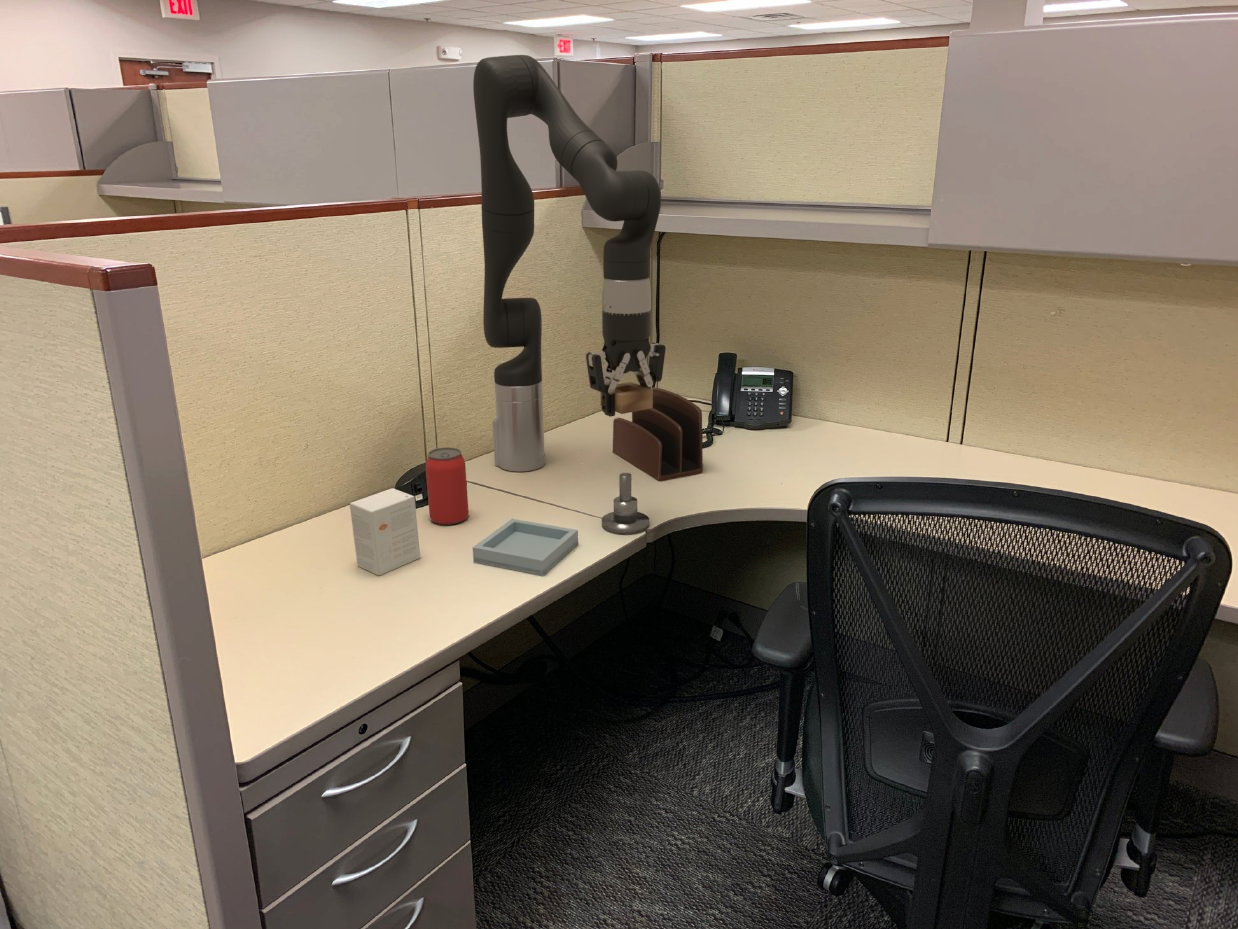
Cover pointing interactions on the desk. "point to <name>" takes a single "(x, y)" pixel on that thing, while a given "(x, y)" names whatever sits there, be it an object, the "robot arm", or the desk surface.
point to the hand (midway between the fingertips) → (626, 411)
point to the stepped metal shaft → (625, 512)
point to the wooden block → (632, 398)
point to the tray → (526, 546)
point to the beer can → (446, 486)
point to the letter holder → (662, 437)
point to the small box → (385, 531)
